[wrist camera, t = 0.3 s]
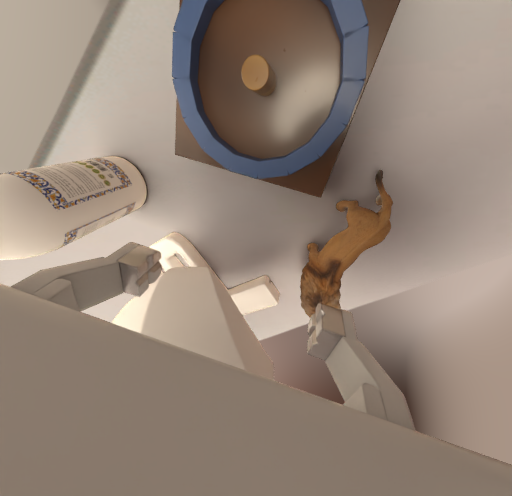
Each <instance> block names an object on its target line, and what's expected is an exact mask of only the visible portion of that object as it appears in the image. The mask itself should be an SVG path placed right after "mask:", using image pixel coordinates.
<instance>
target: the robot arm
mask: <svg viewBox="0 0 512 496" xmlns="http://www.w3.org/2000/svg"><path fill="white" fill-rule="evenodd" d="M160 259H161V252H160V251H158V250H155V249H152V248H149V247H146V246H143V245H140V244H137V243H134V242H129V243H128V244H126V245H125V246H123V247H122V248H120V249H119V250H117V251H116V252H114V253H113V254H111V255H109V256H108V257H106V258H104V257H101V258H96V259H91V260H86V261H82V262H77V263H72V264H68V265H63V266H58V267H53V268H49V269H44V270H40V271H38V272H37V273H35V274H33V275H31V276H29V277H27V278H26V279H24V280H22V281H20V282H18V283H16V284H15V285H13V286H11V287H9V286H6V285H3V284H0V496H512V465H511V464H508V463H505V462H502V461H499V460H497V459H494V458H491V457H488V456H485V455H482V454H479V453H477V452H474V451H471V450H468V449H465V448H463V447H460V446H457V445H454V444H451V443H448V442H446V441H443V440H440V439H437V438H434V437H431V436H428V435H426V434H423V433H420V432H417V431H416V429H415V427H414V424H413V420H412V417H411V414H410V411H409V408H408V405H407V402H406V399H405V396H404V395H403V393H402V392H401V391H400V390H399V388H398V387H397V386H396V385H395V383H394V382H393V381H392V380H391V379H390V377H389V376H388V375H387V373H386V372H385V371H384V370H383V369H382V367H381V366H380V365H379V364H378V362H377V361H376V360H375V359H374V358H373V356H372V355H371V354H370V352H369V351H368V350H367V349H366V347H365V346H364V345H363V344H362V343H361V342H358V337H357V333H356V328H355V324H354V319H353V314H352V313H351V312H349V311H346V310H342V309H338V308H335V307H332V306H329V305H326V304H322V303H319V304H318V305H317V307H316V313H314V314H312V316H311V318H310V321H309V324H308V335H309V336H310V338H309V340H308V341H307V354H309V355H311V356H314V357H316V358H319V359H322V360H325V362H326V365H327V366H328V369H329V371H330V373H331V374H332V376H333V379H334V380H335V383H336V385H337V387H338V389H339V391H340V393H341V395H342V397H343V399H344V401H345V403H344V404H343V405H341V404H339V403H336V402H333V401H330V400H327V399H324V398H321V397H319V396H316V395H313V394H310V393H307V392H305V391H302V390H299V389H296V388H294V387H291V386H288V385H285V384H282V383H279V382H276V381H274V380H271V379H268V378H265V377H262V376H260V375H257V374H254V373H251V372H248V371H245V370H243V369H240V368H237V367H234V366H231V365H228V364H226V363H223V362H220V361H217V360H214V359H212V358H209V357H206V356H203V355H200V354H197V353H195V352H192V351H189V350H186V349H183V348H181V347H178V346H175V345H172V344H169V343H167V342H164V341H161V340H158V339H155V338H153V337H150V336H147V335H144V334H141V333H138V332H136V331H133V330H130V329H127V328H124V327H122V326H119V325H116V324H113V323H110V322H107V321H105V320H102V319H99V318H96V317H93V316H91V315H88V314H85V313H82V312H81V311H83V310H85V309H87V308H90V307H92V306H94V305H97V304H99V303H101V302H103V301H106V300H108V299H110V298H113V297H115V296H117V295H120V294H122V293H123V292H125V293H129V294H132V295H135V296H138V297H140V296H141V295H142V294H143V293H144V292H145V291H146V290H147V289H148V288H149V284H151V283H154V282H155V281H156V280H157V279H158V277H159V276H160V274H161V270H162V265H161V263H160V262H159V260H160Z"/></svg>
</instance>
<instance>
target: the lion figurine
mask: <svg viewBox="0 0 512 496" xmlns="http://www.w3.org/2000/svg"><path fill="white" fill-rule="evenodd" d="M382 178H383V171H382V170H379V171H378V173H377V174H376V179H375V180H376V184H377V188H378V190H379V193H380V195H379V196H377V198H376V200H375V201H376V204H377V205H382V206H381V209H380V210H379V212H378V213H375V212H374V211H372V210H370V209H367V208H363V207H359V205H358V201H355V200H354V201H347V200H343V201H340V202H338V203H337V204H336V208H337V210H339V211H340V212H344V211H345V210H346V209H347V208H348V212H347V216H346V218H347V221H348V228H347V229H345V230H343V231H341V232H340V233H338V234H336V235H335V236H333V237H332V238H331V239H330V240H329V241H328V242H327V243H326V245H325V246H324V247H323V249H322V250H321V251H320V252H319V251H318V245H317V244H315V243H310V244H308V246H307V248H308V250H309V251H310V253H309V262H308V263H307V264H306V266H305V267H304V268H303V270H302V273H303V274H302V276H301V286H300V288H301V296H300V297H301V302H302V303H301V306H302V308H303V309H304V310H305V312H306V314H307V315H308V316H309V317H310V318H311V316H312V314H314V313H316V307H317V305H318V304H319V303H322V304H326V305H329V306H332V307H335V308H338V309H340V308H341V307H340V304H339V299H340V296H341V295H340V291H339V289H340V287H341V280H340V279H341V277H342V275H343V272H344V271H345V270H346V269H347V268H348V267H349V266H350V265H351V264H352V263H353V262H354V261H355V260H356V259H357V258H358V256H359V255H360V254H361V253H362V252H363V251H365V250H366V249H368V248H371V247H373V246H375V245H377V244H379V243H380V242H382V241H383V240H384V239H385V237H386V236H387V234H388V233H389V231H390V229H391V224H390V221H389V219H390V215H391V206H392V204H393V201H392V199H391V197H390V196H389V195H388V194H387V192H386V191H385V189H384V186H383V183H382Z"/></svg>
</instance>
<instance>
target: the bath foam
mask: <svg viewBox="0 0 512 496" xmlns="http://www.w3.org/2000/svg"><path fill="white" fill-rule="evenodd" d="M146 196H147V190H146V185H145V182H144V179H143V177H142V175H141V174H140V172H139V171H138V170H137V168H136V167H135V166H134V165H132V164H131V163H130V162H128V161H127V160H125V159H123V158H120V157H117V156H107V157H101V158H94V159H87V160H81V161H75V162H69V163H63V164H57V165H51V166H44V167H38V168H32V169H26V170H20V171H14V172H7V173H2V174H0V260H8V259H22V258H29V257H34V256H39V255H42V254H46V253H48V252H51V251H54V250H57V249H59V248H61V247H63V246H65V245H67V244H69V243H71V242H73V241H75V240H77V239H79V238H81V237H83V236H85V235H87V234H89V233H91V232H93V231H95V230H97V229H99V228H101V227H103V226H105V225H107V224H109V223H111V222H113V221H115V220H117V219H119V218H121V217H123V216H125V215H127V214H129V213H131V212H133V211H135V210H137V209H139V208H140V207H141V206H142V205H143V204H144V202H145V200H146Z"/></svg>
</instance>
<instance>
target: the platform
mask: <svg viewBox="0 0 512 496" xmlns="http://www.w3.org/2000/svg"><path fill="white" fill-rule="evenodd" d="M182 1H183V0H180V7H181V4H182ZM399 2H400V0H362V3H363V6H364V10H365V13H366V16H367V19H368V24H367V26H369V34H368V51H367V67H366V79H364V81H365V83H364V85H363V88H362V90H361V93H360V95H359V98H358V100H357V103H356V105H355V108H354V110H353V113H352V115H351V118H350V120H349V123H348V125H346V128H345V129H344V130H343V132H342V133H341V134H340V135H339V136H338V138H337V139H336V140H335V141H334V142H333V143H332V145H331V146H330V147H329V148H328V149H327V151H326V152H325V153H324V154H323V155H322V156H321V157H320V156H319V159H317V160H316V161H314V162H312V163H310V164H309V165H307V166H305V167H303V168H302V169H300V170H298V171H296V172H294V173H293V174H291V175H290V174H289V175H288V176H280V177H272V178H264V179H259V178H257V179H259V180H263V181H266V182H270V183H273V184H276V185H280V186H283V187H286V188H290V189H293V190H297V191H300V192H303V193H307V194H310V195H314V196H317V197H321V196H322V193H323V191H324V188H325V186H326V183H327V181H328V178H329V176H330V173H331V171H332V168H333V166H334V164H335V161H336V159H337V156H338V154H339V151H340V149H341V146H342V144H343V141H344V139H345V136H346V134H347V131H348V129H349V126H350V124H351V121H352V119H353V116H354V114H355V111H356V109H357V107H358V104H359V102H360V99H361V97H362V94H363V92H364V89H365V87H366V84H367V82H368V79H369V77H370V74H371V72H372V69H373V67H374V64H375V62H376V59H377V57H378V54H379V52H380V49H381V47H382V45H383V42H384V40H385V37H386V35H387V32H388V30H389V27H390V25H391V22H392V20H393V17H394V15H395V12H396V10H397V7H398V5H399ZM340 64H341V43H340V40H339V37H338V34H337V31H336V29H335V26H334V23H333V20H332V17H331V14H330V12H329V9H328V7H327V6H326V5H325V4H324V3H323V2H322V1H321V0H224V1H223V2H222V3H221V5H220V6H219V7H218V8H217V9H216V10H215V11H214V13H213V15H212V18H211V20H210V23H209V25H208V28H207V30H206V33H205V35H204V38H203V40H202V43H201V45H200V53H199V67H198V86H199V90H200V94H201V99H202V103H203V108H204V112H205V114H206V115H207V117H208V119H209V120H210V122H211V124H212V125H213V127H214V129H215V131H216V132H217V134H218V136H219V137H220V138H222V139H223V140H224V141H225V142H226V143H228V144H229V145H230V146H231V147H233V148H234V149H235V150H236V151H237V152H239V153H242V154H246V155H249V156H253V157H256V158H260V159H266V158H273V157H280V156H286V155H288V154H289V153H291V152H292V151H294V150H296V149H297V148H299V147H301V146H302V145H304V144H306V143H307V142H309V141H310V139H311V138H312V137H313V136H314V134H315V133H316V132H317V130H318V129H319V128H320V127H321V125H322V124H323V123H324V122H325V120H326V119H327V118H328V116H329V113H330V110H331V108H332V105H333V102H334V99H335V96H336V93H337V91H338V88H339V85H340ZM184 119H185V118H183V117H182V113H181V109H180V106H179V102H178V98H177V108H176V140H175V155H178V156H182V157H185V158H189V159H192V160H195V161H199V162H202V163H205V164H209V165H212V166H216V167H219V168H222V169H226V168H224V167H223V166H222V165H221V164H219V163H218V162H217V161H216V160H214V159H213V158H212V157H211V156H209V155H208V154H207V153H206V152H204V151H203V150H204V149H202V148H201V147H200V145H199V144H198V142H197V140H196V139H195V137H194V136H193V134H192V133H191V131H190V129H189V128H188V126H187V125H186V123H185V121H184ZM226 170H227V169H226ZM228 170H229V169H228Z"/></svg>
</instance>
